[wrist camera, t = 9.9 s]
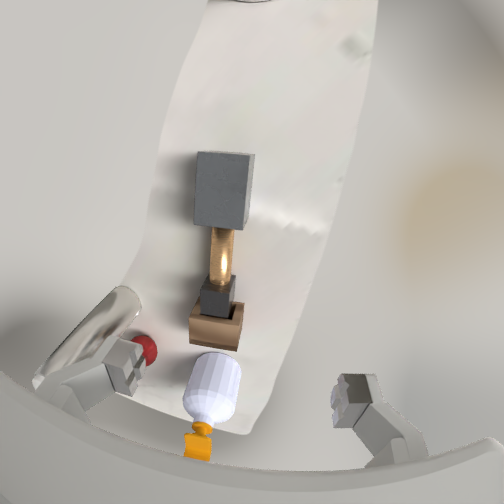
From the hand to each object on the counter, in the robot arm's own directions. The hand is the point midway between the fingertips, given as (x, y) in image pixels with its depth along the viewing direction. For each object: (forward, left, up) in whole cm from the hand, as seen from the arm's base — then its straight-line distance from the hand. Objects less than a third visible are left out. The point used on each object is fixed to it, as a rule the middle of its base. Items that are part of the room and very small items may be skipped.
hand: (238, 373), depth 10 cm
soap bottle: (+32, -6, -30) cm, 44 cm away
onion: (+28, -20, -30) cm, 45 cm away
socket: (+18, -6, -30) cm, 35 cm away
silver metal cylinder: (+20, -24, -30) cm, 43 cm away
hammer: (+11, -6, -29) cm, 32 cm away
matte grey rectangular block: (-2, -6, -30) cm, 30 cm away
